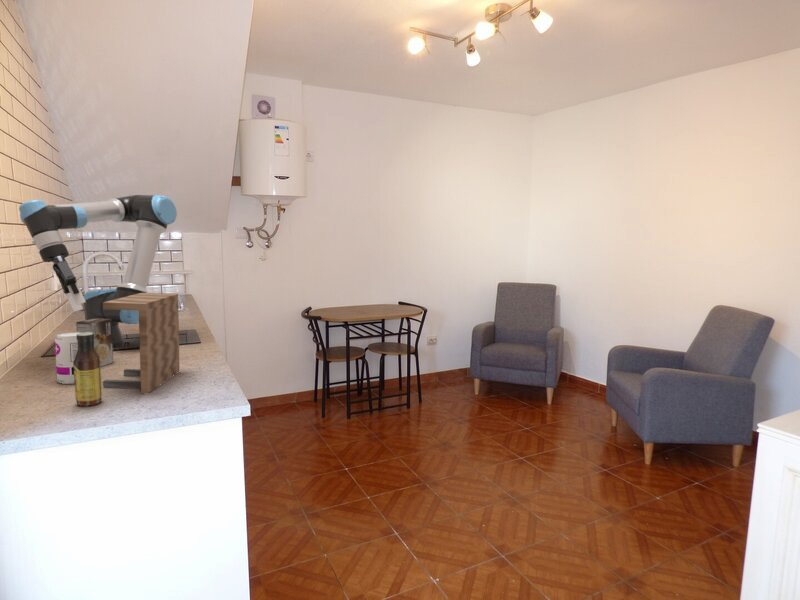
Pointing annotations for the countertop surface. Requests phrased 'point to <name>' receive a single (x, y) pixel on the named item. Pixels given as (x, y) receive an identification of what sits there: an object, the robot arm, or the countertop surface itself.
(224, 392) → the countertop surface
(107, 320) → the coffee box
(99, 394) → the sauce bottle
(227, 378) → the countertop surface
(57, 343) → the supplement can
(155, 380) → the overhang shelf
